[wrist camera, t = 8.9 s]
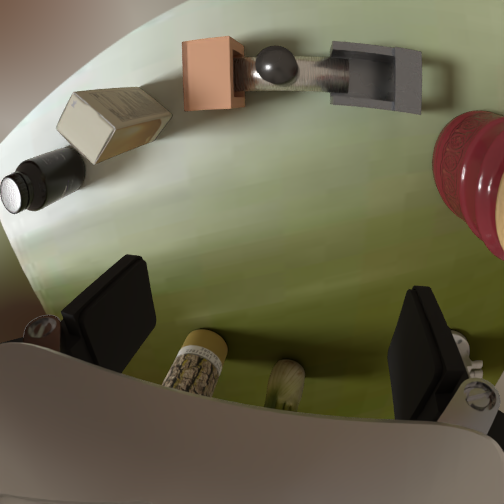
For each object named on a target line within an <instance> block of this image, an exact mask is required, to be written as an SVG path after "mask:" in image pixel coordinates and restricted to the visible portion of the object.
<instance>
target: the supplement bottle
mask: <svg viewBox="0 0 504 504" xmlns="http://www.w3.org/2000/svg"><path fill="white" fill-rule="evenodd" d="M84 176H85V167H84V163H83V160H82V158H81V156H80V155H79V154H78V153H77V152H76V151H75V150H74V149H72V148H68V147H65V148H61V149H57V150H54V151H51V152H48V153H45V154H42V155H39V156H36V157H33V158H30V159H27V160H25V161H23V162H22V163H21V164H20V165H19V166H18V167H17V169H16V171H15V172H14V173H12V174H10V175H8V176H6V177H5V178H3V180H2V182H1V185H0V194H1V199H2V202H3V204H4V206H5V208H6V209H7V210H8V211H9V212H10V213H12V214H17V213H19V212H21V211H23V210H26V209H27V210H30V211H38V210H41V209H43V208H44V207H46V206H48V205H50V204H52V203H54V202H56V201H58V200H59V199H61V198H63V197H65V196H67V195H69V194H71V193H73V192H75V191H76V190H78V189H79V188H80V187H81V185H82V183H83V181H84Z"/></svg>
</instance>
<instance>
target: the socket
mask: <svg viewBox="0 0 504 504" xmlns="http://www.w3.org/2000/svg"><path fill="white" fill-rule="evenodd" d="M240 57H244V46H243V45H241V44H240V43H239V42H237V41H236V40H234V39H233V38H231V37H230V36H224V37H215V38H206V39H198V40H191V41H185V42H182V63H183V92H184V111H196V110H211V109H231V108H241V107H245V91H236V92H234V89H233V58H240Z"/></svg>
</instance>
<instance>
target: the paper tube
mask: <svg viewBox="0 0 504 504" xmlns="http://www.w3.org/2000/svg"><path fill="white" fill-rule="evenodd" d="M227 352H228V348H227V345H226V343H225V341H224V340H223V338H222V337H221V336H219V335H218V334H217V333H215V332H213V331H210V330H205V329H198V330H195V331H192V332H191V333H190V334H189V335H188V336H187V338H186V340H185V342H184V344H183V346H182V348H181V349H180V351H179V353H178V355H177V357H176V359H175V361H174V363H173V364H172V366H171V368H170V370H169V372H168V374H167V376H166V378H165V380H164V382H163V384H162V386H166V387H169V388H173V389H177V390H181V391H185V392H189V393H193V394H198V395H202V396H207V397H212V395H213V392H214V389H215V386H216V384H217V381H218V378H219V375H220V373H221V370H222V367H223V364H224V361H225V358H226V356H227Z"/></svg>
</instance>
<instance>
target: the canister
mask: <svg viewBox="0 0 504 504" xmlns="http://www.w3.org/2000/svg"><path fill="white" fill-rule="evenodd" d="M432 167H433V176H434V180H435V184H436V186H437V189H438V191H439V193H440V195H441V197H442V199H443V201H444V202H445V204H446V205H447V206H448V208H449V209H450V210H451V211H452V212H453V213H454V214H456V215H457V216H458V217H459V218H461V219H463V220H464V221H465V222H466V223H467V224H468V226H469V228H470V229H471V230H472V232H473V233H474V234H475V235H476V236H477V237H478V238H479V239H481V240H482V241H483V242H484V243H485V245H486V246H487V248H488V249H489V250H490V251H491V252H492V253H493V254H494V255H495V256H496V257H498V258H499V259H501V260H503V261H504V116H501V115H497V114H495V113H492V112H488V111H478V110H477V111H469V112H466V113H464V114H461V115H459V116H457V117H455V118H454V119H452V120H451V121H450V122H449V123H448V124H447V125H446V126H445V127H444V128H443V130H442V131H441V133H440V135H439V136H438V139H437V141H436V144H435V147H434V152H433V160H432Z"/></svg>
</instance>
